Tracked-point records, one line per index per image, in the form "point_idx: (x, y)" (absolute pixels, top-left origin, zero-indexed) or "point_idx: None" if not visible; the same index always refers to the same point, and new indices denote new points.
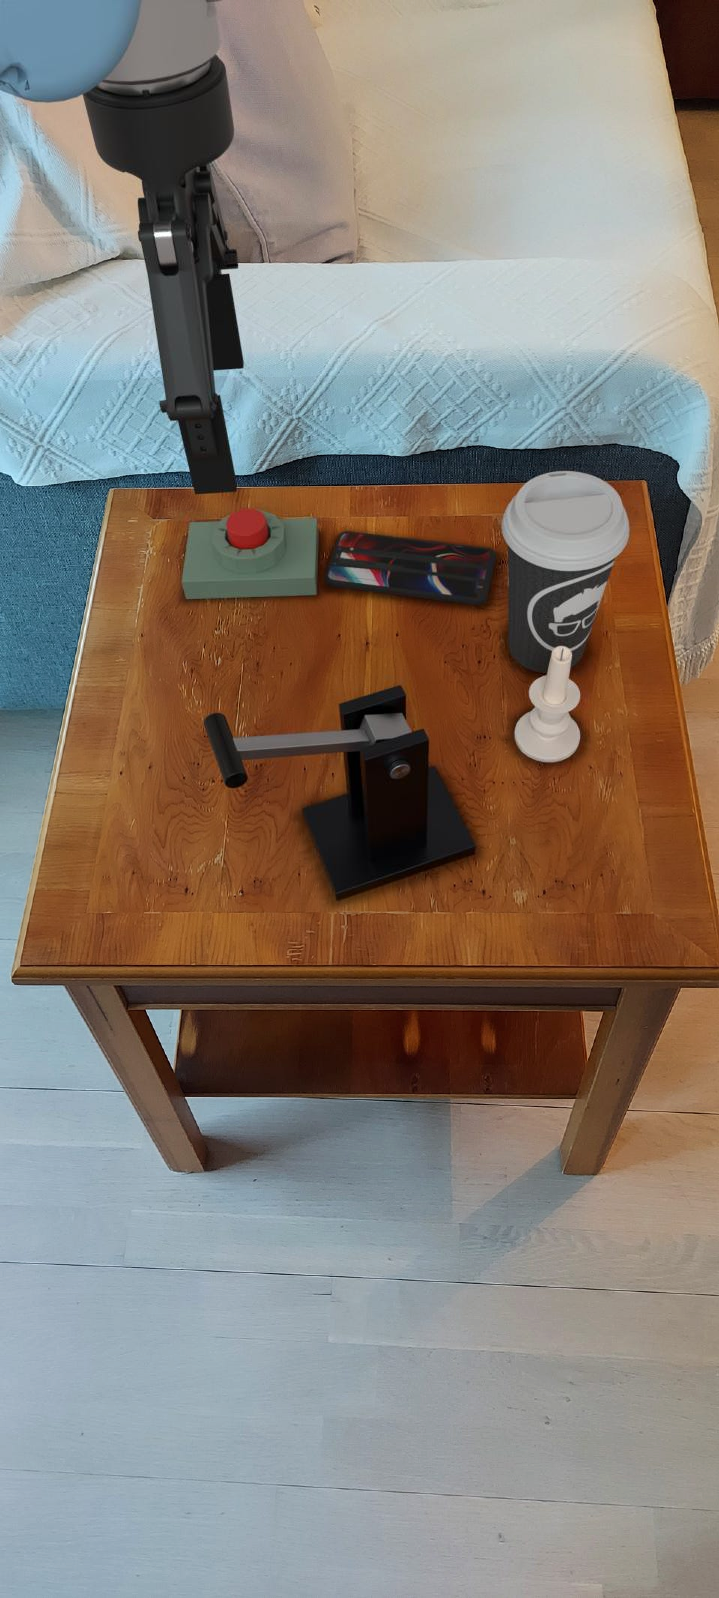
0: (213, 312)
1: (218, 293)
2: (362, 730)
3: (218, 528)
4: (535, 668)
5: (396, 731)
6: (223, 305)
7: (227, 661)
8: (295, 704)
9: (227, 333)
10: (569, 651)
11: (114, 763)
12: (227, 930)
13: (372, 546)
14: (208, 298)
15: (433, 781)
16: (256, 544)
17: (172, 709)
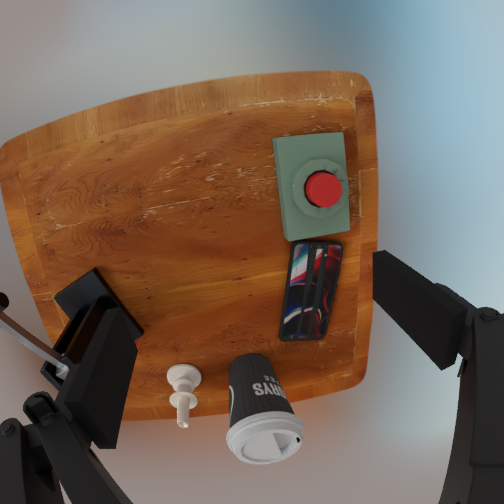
0: (417, 316)
1: (433, 341)
2: (62, 365)
3: (326, 163)
4: (229, 369)
5: None
6: (421, 334)
7: (210, 185)
8: (177, 243)
9: (398, 312)
10: (185, 427)
11: (108, 133)
12: (26, 243)
13: (328, 268)
14: (431, 324)
15: (132, 335)
16: (309, 198)
17: (159, 157)
